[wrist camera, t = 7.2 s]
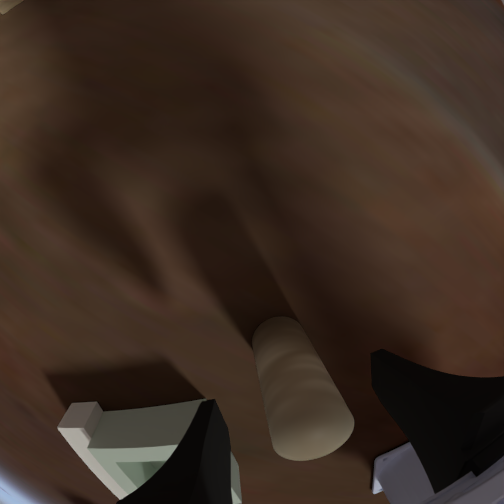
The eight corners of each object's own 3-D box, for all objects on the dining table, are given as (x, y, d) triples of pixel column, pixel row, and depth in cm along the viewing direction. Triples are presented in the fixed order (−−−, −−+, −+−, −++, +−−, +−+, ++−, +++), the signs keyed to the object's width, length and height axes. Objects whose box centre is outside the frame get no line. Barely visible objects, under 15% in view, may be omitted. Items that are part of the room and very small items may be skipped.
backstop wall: (96, 401, 17) (83, 427, 14) (154, 480, 19) (150, 505, 16) (71, 402, 17) (57, 427, 14) (130, 480, 19) (124, 504, 16)
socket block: (205, 398, 18) (203, 441, 14) (238, 465, 19) (242, 503, 16) (103, 411, 17) (86, 448, 13) (149, 474, 19) (143, 508, 15)
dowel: (299, 309, 17) (352, 393, 9) (308, 354, 18) (355, 444, 10) (246, 324, 17) (263, 420, 9) (258, 368, 18) (280, 467, 10)
